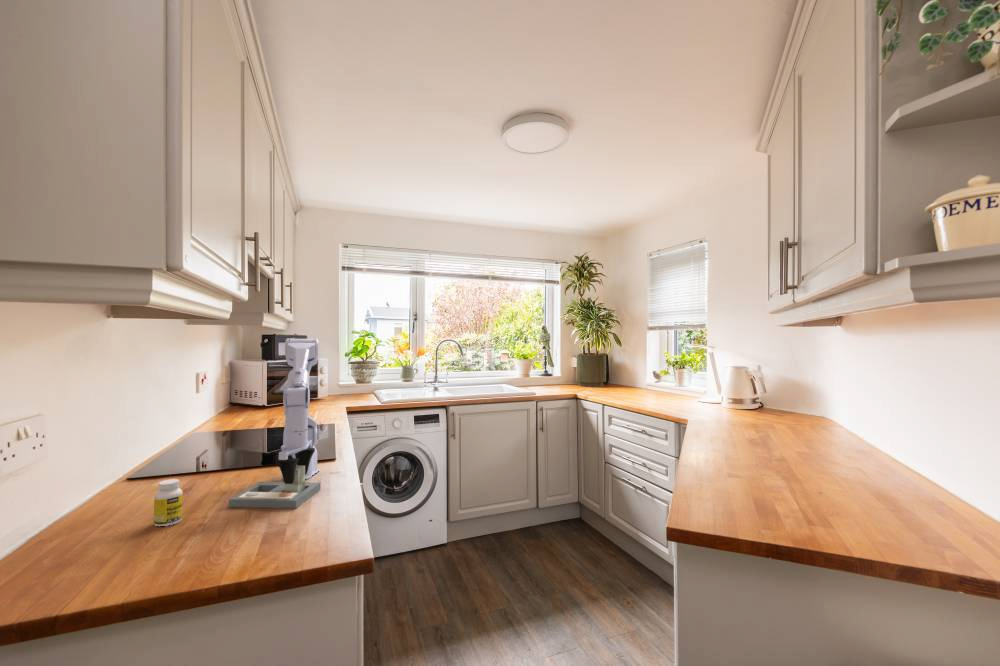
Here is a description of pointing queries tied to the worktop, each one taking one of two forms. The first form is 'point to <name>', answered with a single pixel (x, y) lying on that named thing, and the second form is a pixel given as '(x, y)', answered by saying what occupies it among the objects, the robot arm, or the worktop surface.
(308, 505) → the worktop surface
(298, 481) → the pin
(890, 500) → the worktop surface
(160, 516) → the supplement bottle
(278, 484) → the board
